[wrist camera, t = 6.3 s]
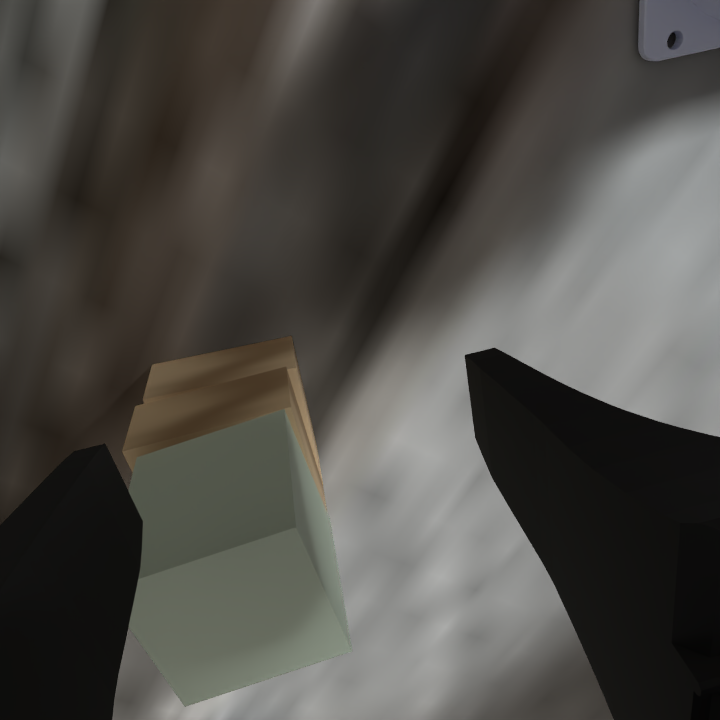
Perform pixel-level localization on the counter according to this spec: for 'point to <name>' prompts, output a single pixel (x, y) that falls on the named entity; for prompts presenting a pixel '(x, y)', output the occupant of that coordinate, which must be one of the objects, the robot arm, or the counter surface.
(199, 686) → the sage block
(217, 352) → the slab lower
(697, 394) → the counter surface
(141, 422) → the slab upper
